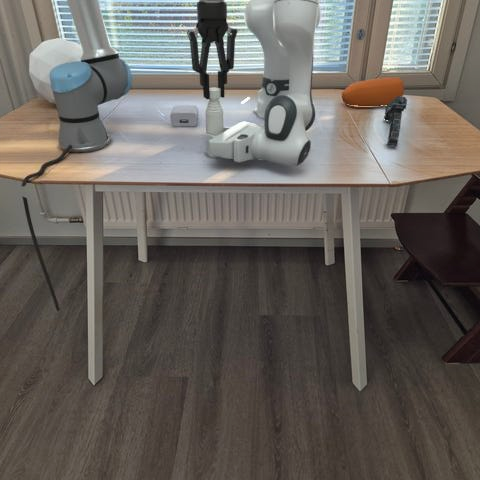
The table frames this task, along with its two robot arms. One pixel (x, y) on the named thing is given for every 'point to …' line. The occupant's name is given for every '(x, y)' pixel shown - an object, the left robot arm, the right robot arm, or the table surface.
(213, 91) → the cap
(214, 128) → the bottle
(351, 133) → the table surface
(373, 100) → the clog
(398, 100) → the futuristic handgun
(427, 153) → the table surface
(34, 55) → the decorative sphere
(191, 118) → the charger
